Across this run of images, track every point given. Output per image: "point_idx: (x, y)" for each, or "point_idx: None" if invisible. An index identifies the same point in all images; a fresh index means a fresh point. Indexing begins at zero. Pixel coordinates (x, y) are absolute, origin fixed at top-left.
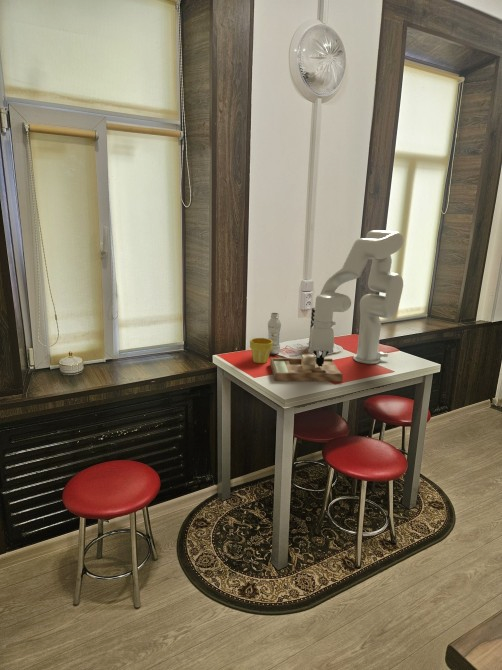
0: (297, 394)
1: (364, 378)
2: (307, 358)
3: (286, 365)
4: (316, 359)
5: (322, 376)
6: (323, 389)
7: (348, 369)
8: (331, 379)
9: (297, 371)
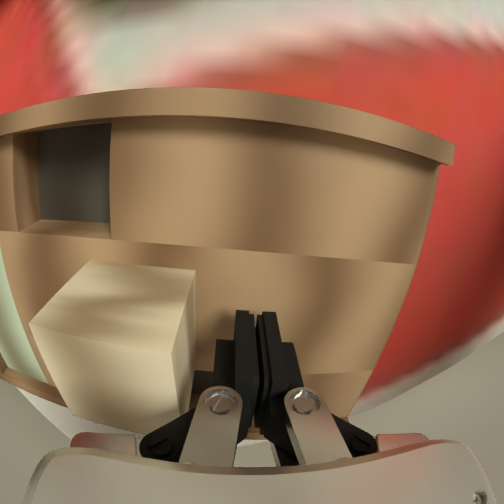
0: None
1: (449, 355)
2: (102, 423)
3: (3, 251)
4: (213, 372)
5: None
6: None
7: (470, 237)
8: None
9: None
